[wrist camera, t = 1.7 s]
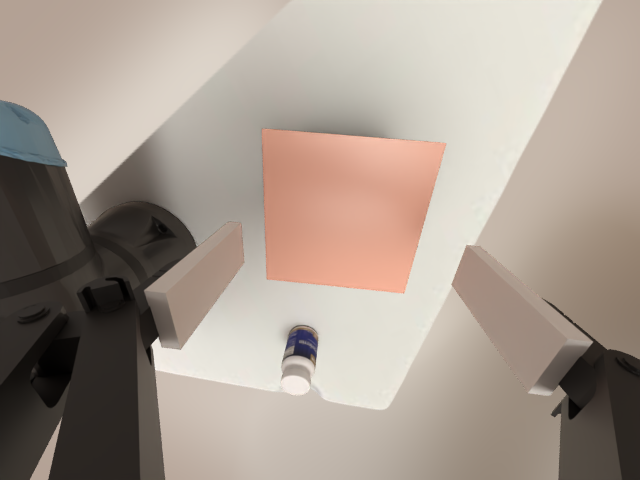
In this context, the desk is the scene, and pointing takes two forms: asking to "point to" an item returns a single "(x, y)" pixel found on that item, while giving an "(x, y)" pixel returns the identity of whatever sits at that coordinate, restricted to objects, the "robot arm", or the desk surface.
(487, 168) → the desk surface
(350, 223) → the lid
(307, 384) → the pill bottle
